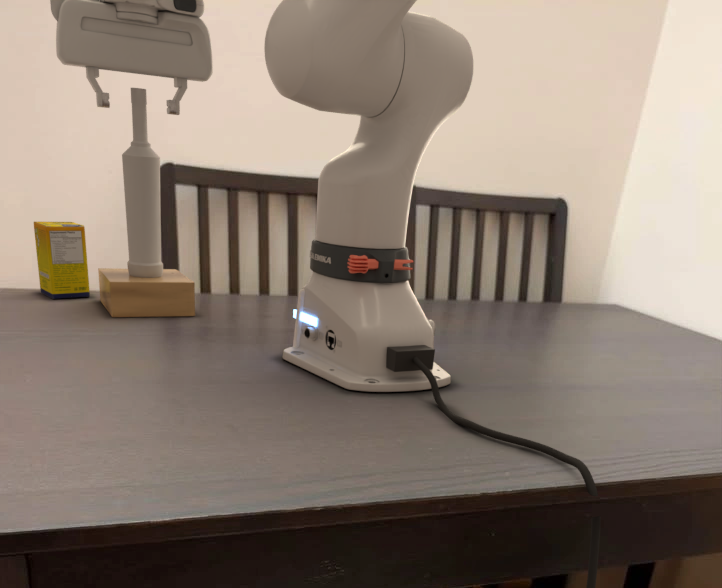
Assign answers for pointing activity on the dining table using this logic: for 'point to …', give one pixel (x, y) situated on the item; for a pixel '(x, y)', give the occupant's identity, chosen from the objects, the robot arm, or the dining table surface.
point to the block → (146, 294)
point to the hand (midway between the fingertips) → (139, 111)
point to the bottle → (142, 196)
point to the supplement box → (62, 259)
